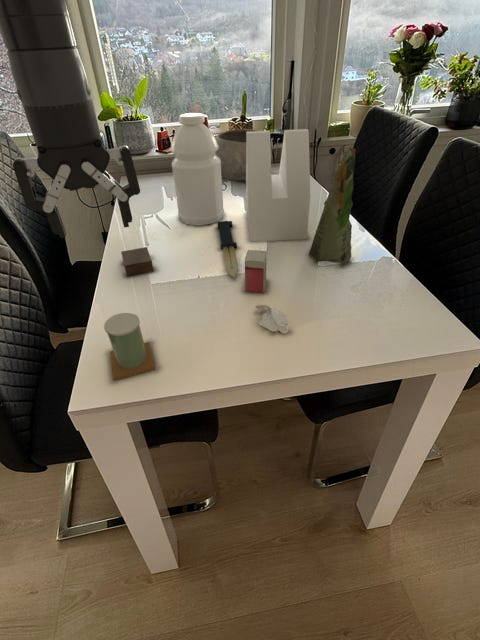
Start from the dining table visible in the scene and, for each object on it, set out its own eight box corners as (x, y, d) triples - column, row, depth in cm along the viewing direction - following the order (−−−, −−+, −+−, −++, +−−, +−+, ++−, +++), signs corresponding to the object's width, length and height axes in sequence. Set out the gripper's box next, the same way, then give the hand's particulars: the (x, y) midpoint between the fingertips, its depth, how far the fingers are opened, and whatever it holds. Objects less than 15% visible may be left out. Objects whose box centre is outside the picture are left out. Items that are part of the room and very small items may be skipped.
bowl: (219, 189, 135) (216, 144, 125) (207, 171, 152) (204, 130, 143) (280, 181, 139) (281, 137, 130) (261, 164, 156) (261, 125, 147)
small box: (248, 280, 86) (247, 249, 81) (266, 281, 85) (267, 250, 80) (244, 292, 82) (243, 260, 77) (264, 293, 81) (264, 261, 76)
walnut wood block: (127, 276, 89) (124, 265, 87) (123, 262, 94) (121, 251, 92) (153, 271, 90) (151, 260, 88) (149, 257, 96) (146, 246, 94)
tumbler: (117, 373, 63) (105, 337, 58) (114, 352, 67) (103, 317, 62) (150, 364, 64) (141, 329, 59) (145, 344, 68) (136, 309, 63)
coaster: (113, 380, 62) (113, 378, 62) (110, 353, 68) (109, 351, 67) (155, 369, 64) (154, 366, 64) (149, 344, 69) (148, 341, 69)
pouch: (338, 243, 98) (352, 141, 83) (364, 264, 90) (385, 154, 74) (299, 251, 96) (307, 147, 80) (322, 273, 87) (336, 161, 71)
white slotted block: (246, 213, 116) (244, 124, 101) (296, 211, 116) (301, 122, 101) (250, 241, 101) (248, 141, 86) (306, 239, 101) (315, 139, 86)
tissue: (280, 308, 77) (281, 293, 74) (290, 333, 70) (291, 317, 68) (253, 311, 76) (253, 296, 74) (261, 337, 70) (261, 321, 68)
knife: (231, 220, 109) (243, 273, 85) (232, 225, 110) (243, 279, 86) (217, 221, 108) (225, 274, 85) (217, 226, 109) (225, 280, 86)
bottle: (233, 215, 115) (228, 113, 98) (200, 230, 108) (189, 122, 90) (202, 204, 123) (193, 108, 106) (169, 218, 115) (153, 116, 98)
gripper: (117, 89, 47) (142, 212, 57) (-7, 98, 44) (42, 228, 54) (123, 96, 42) (149, 232, 52) (-19, 108, 38) (39, 251, 48)
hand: (95, 230), depth 53 cm, fingers open, 8 cm apart
